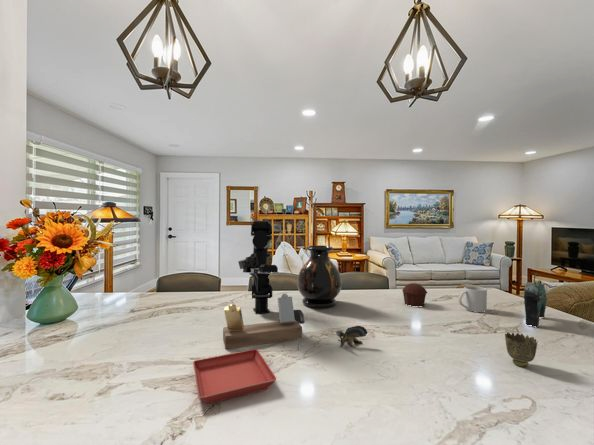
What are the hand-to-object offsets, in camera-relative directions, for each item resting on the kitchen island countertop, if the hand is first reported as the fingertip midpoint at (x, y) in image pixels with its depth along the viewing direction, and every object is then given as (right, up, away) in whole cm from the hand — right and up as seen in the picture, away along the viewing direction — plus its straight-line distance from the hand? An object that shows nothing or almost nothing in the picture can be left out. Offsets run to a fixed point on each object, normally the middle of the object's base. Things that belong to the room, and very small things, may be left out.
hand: (258, 291), depth 114 cm
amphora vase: (+26, -13, +29) cm, 41 cm away
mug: (+96, -14, +22) cm, 99 cm away
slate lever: (+12, -9, -10) cm, 18 cm away
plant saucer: (-2, -14, -39) cm, 41 cm away
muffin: (+72, -13, +29) cm, 79 cm away
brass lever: (-5, -9, -16) cm, 19 cm away
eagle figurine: (+33, -14, -17) cm, 40 cm away
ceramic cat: (+112, -14, +6) cm, 113 cm away
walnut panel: (+3, -13, -13) cm, 19 cm away
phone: (+13, -14, +10) cm, 21 cm away
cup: (+79, -14, -30) cm, 86 cm away
